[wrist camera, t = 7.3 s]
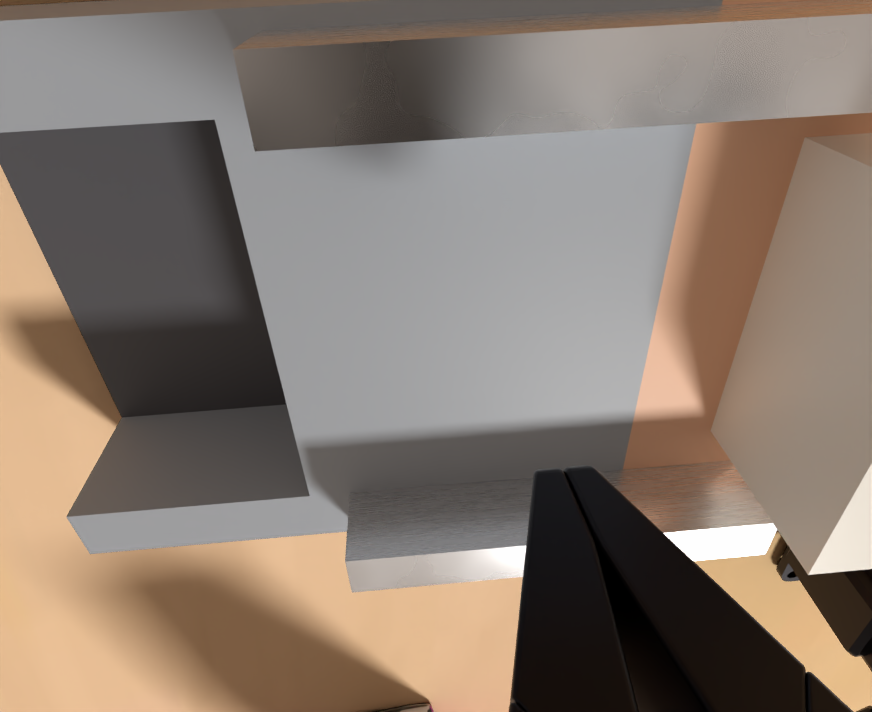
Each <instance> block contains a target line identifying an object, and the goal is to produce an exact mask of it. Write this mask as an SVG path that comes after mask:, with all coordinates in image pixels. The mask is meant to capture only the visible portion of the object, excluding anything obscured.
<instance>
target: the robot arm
mask: <svg viewBox="0 0 872 712" xmlns="http://www.w3.org/2000/svg"><path fill="white" fill-rule="evenodd" d="M776 570H777V572H778V573H779V575H780V576H781V578H782V580H784V581H798V580H800V581H801V583H802V585H803V586H804V588H805V589H806V591H807V592H808V594H809V595H810V597H811V598H812V600H813V601H814V603H815V604H816V606H817V607H818V609H819V610H820V612H821V613H822V615H823V616H824V618H825V619H826V621H827V622H828V624H829V625H830V627H831V629H832V630H833V632H834V633H835V635H836V636H837V638H838V639H839V641H840V642H841V644H842V645H843V647H844V648H845V650H846V651H847V652H849V653H850V654H851V655H852V656H854V657H858V656H862V658H863V659H864V661H865V662H866V664H867V665H868V667H869V668H870V670H871V671H872V569H866V570H856V571H845V572H834V573H824V574H813V575H808V574H807V573H806V571H805V570H804V568H803V567H802V565H801V564H800V562H799V561H798V559H797V558H796V556H795V555H794V553H793V552H792V550H791V549H790V547H789V546H787V548H786V550H785V552H784V554H783V556H782V558H781V560H780V562H779V564H778V566H777V569H776ZM509 712H853V711H852V710H851V709H850V708H849V707H848V706H847V705H845V704H844V703H843V702H842V701H841V700H840V699H839V698H838V697H837V696H836V695H835V694H834V693H833V692H832V691H831V690H829V689H828V688H827V687H826V686H825V685H824V684H823V683H822V682H821V681H820V680H819V679H818V678H817V677H816V676H815V675H814V674H812V673H811V672H806V671H805V667H804V665H803V664H802V663H801V662H799V661H798V660H797V659H796V658H795V657H794V656H793V655H792V654H791V653H790V652H789V651H788V650H787V649H786V648H785V647H784V646H783V645H781V644H780V643H779V642H778V641H777V640H776V639H775V638H774V637H773V636H772V635H771V634H770V633H769V632H768V631H767V630H766V629H765V628H763V627H762V626H761V625H760V624H759V623H758V622H757V621H756V620H755V619H754V618H753V617H752V616H751V615H750V614H749V613H748V612H747V611H745V610H744V609H743V608H742V607H741V606H740V605H739V604H738V603H737V602H736V601H735V600H734V599H733V598H732V597H731V596H730V595H729V594H728V593H726V592H725V591H724V590H723V589H722V588H721V587H720V586H719V585H718V584H717V583H716V582H715V581H714V580H713V579H712V578H711V577H710V576H708V575H707V574H706V573H705V572H704V571H703V570H702V569H701V568H700V567H699V566H698V565H697V564H696V563H695V562H694V561H693V560H692V559H690V558H689V557H688V556H687V555H686V554H685V553H684V552H683V551H682V550H681V549H680V548H679V547H678V546H677V545H676V544H675V543H674V542H672V541H671V540H670V539H669V538H668V537H667V536H666V535H665V534H664V533H663V532H662V531H661V530H660V529H659V528H658V527H657V526H656V525H654V524H653V523H652V522H651V521H650V520H649V519H648V518H647V517H646V516H645V515H644V514H643V513H642V512H641V511H640V510H639V509H638V508H637V507H635V506H634V505H633V504H632V503H631V502H630V501H629V500H628V499H627V498H626V497H625V496H624V495H623V494H622V493H621V492H620V491H619V490H617V489H616V488H615V487H614V486H613V485H612V484H611V483H610V482H609V481H608V480H607V479H606V478H605V477H604V476H603V475H602V474H601V473H599V472H598V471H597V470H596V469H595V468H594V467H592V466H589V465H584V466H573V467H566V468H564V469H563V470H562V469H560V468H550V469H539V470H536V471H535V472H534V474H533V484H532V493H531V503H530V513H529V523H528V532H527V542H526V552H525V562H524V571H523V581H522V591H521V601H520V610H519V620H518V630H517V640H516V649H515V659H514V669H513V679H512V688H511V699H510V706H509ZM856 712H872V706H867V707H865V708H863V709H861V710H858V711H856Z"/></svg>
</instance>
